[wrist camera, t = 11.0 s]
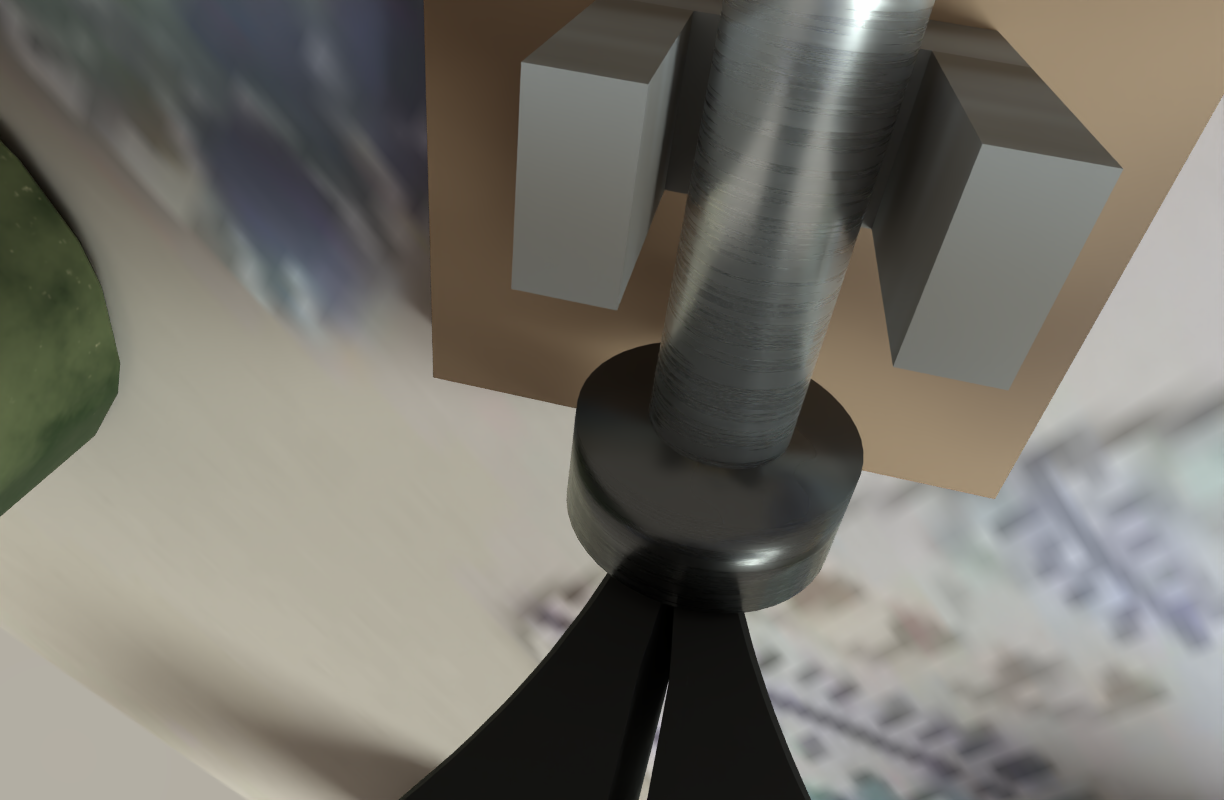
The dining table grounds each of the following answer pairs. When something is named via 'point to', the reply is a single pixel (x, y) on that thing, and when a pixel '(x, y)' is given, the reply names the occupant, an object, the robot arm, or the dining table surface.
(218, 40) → the dining table surface
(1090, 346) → the dining table surface
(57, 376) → the green bottle
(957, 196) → the shaft bracket
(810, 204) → the shaft
